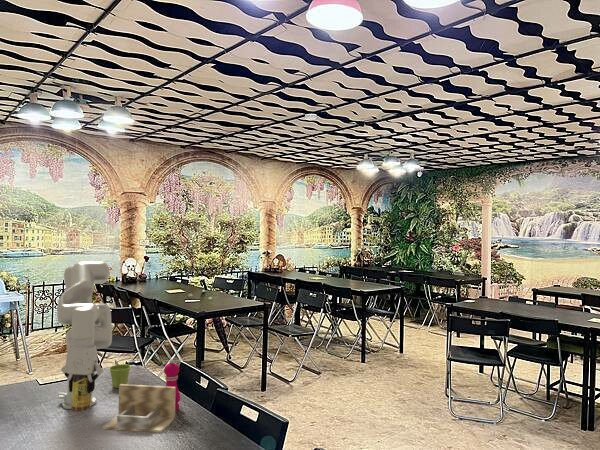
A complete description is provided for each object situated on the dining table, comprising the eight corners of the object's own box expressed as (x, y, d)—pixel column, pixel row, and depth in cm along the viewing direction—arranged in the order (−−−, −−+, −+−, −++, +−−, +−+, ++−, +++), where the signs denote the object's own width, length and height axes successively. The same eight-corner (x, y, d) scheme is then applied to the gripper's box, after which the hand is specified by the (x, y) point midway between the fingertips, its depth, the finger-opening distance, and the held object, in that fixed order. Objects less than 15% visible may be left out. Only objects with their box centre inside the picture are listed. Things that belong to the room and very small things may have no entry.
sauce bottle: (77, 414, 165) (79, 358, 164) (67, 410, 168) (68, 355, 168) (94, 408, 170) (95, 353, 170) (84, 404, 174) (85, 351, 173)
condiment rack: (102, 429, 168) (103, 395, 168) (120, 415, 181) (120, 384, 181) (161, 432, 165) (162, 398, 166) (175, 418, 178) (175, 386, 179)
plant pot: (125, 389, 210) (126, 370, 210) (105, 389, 210) (105, 369, 210) (133, 382, 219) (134, 364, 220) (113, 382, 220) (114, 364, 220)
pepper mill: (175, 413, 183) (176, 362, 183) (158, 411, 184) (159, 361, 185) (183, 406, 190) (184, 357, 191) (166, 405, 192) (167, 356, 192)
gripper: (53, 343, 166) (52, 393, 166) (99, 345, 164) (98, 396, 164) (66, 338, 174) (65, 386, 174) (110, 340, 172) (109, 389, 172)
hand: (81, 390), depth 169 cm, fingers closed on sauce bottle, 6 cm apart
